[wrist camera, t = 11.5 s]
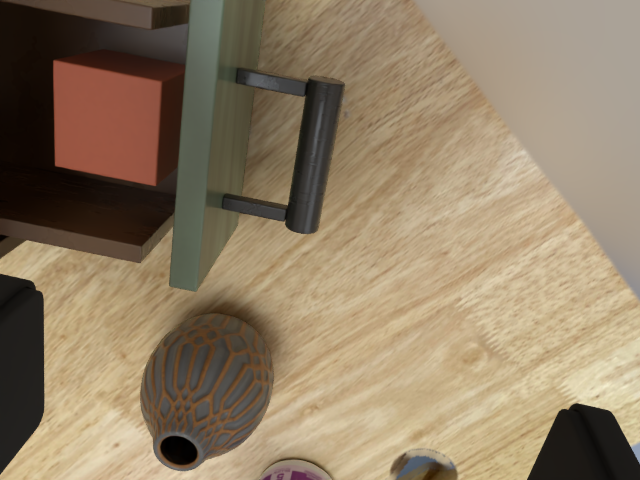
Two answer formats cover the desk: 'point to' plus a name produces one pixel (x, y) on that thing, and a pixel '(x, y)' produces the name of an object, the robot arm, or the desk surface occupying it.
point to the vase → (205, 389)
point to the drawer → (195, 136)
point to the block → (118, 115)
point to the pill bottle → (294, 471)
